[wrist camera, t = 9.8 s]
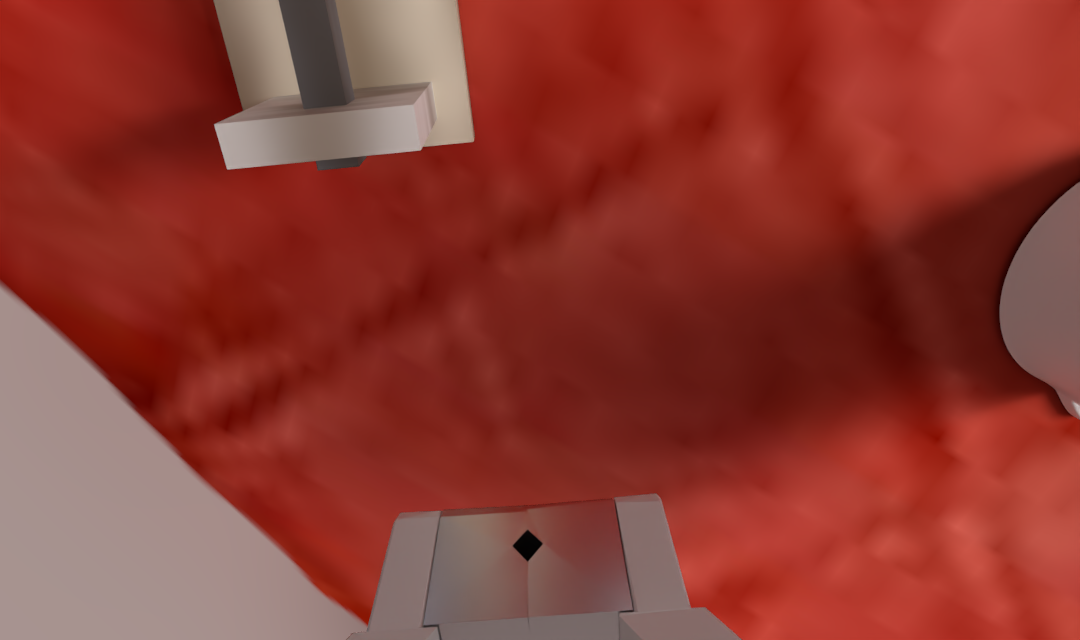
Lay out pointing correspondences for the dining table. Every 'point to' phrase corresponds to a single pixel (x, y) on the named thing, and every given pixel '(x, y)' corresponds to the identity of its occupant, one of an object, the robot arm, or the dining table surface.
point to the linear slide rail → (342, 80)
